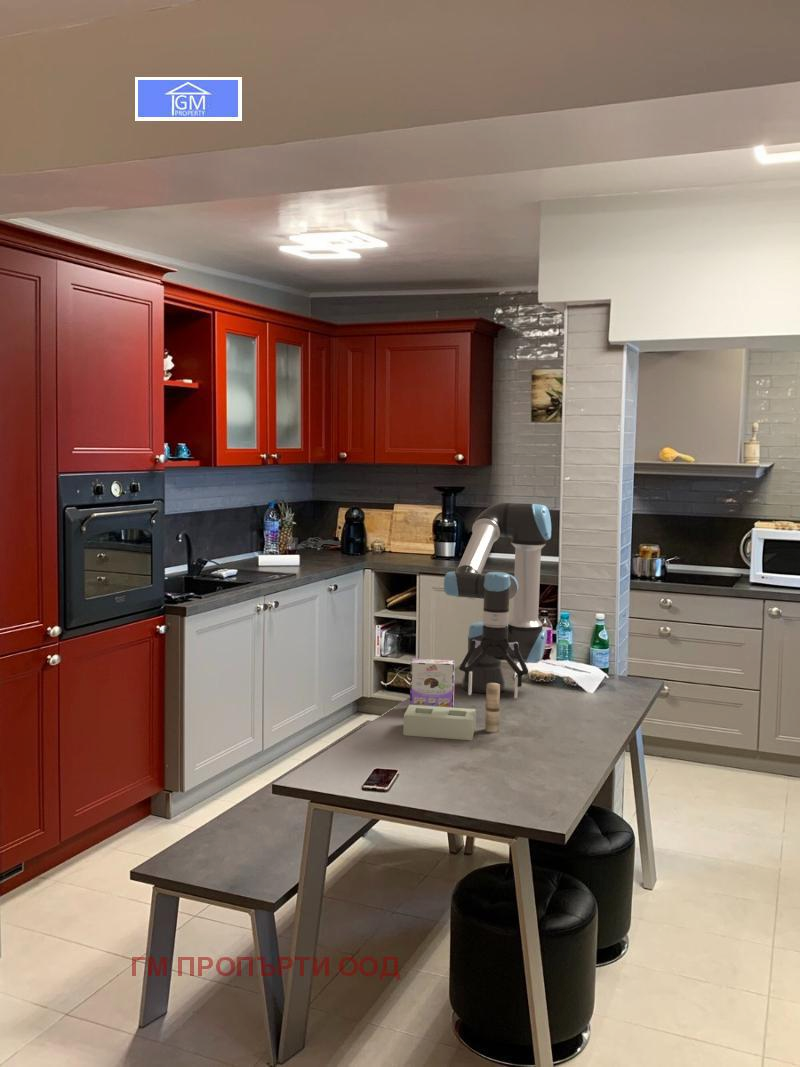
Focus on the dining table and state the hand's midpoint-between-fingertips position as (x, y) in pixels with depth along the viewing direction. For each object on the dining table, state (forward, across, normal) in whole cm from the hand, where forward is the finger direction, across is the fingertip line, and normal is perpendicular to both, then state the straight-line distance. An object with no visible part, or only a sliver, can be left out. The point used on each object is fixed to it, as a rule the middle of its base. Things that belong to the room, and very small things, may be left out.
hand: (492, 695), depth 282 cm
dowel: (+11, 0, 0) cm, 11 cm away
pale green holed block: (+11, -15, -4) cm, 19 cm away
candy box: (+11, -20, +16) cm, 27 cm away
